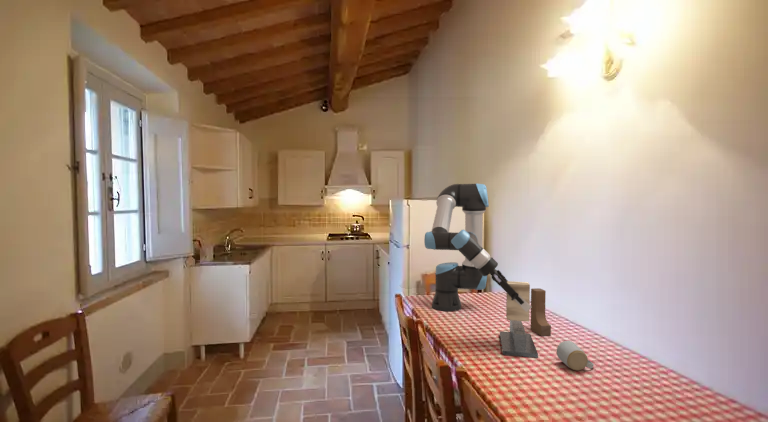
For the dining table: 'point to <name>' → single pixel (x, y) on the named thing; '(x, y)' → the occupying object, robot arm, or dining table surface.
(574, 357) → the ceramic mug
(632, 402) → the dining table surface
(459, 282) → the robot arm
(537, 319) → the wooden block
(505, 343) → the gray t-shaped block
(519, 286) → the birch post
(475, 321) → the dining table surface
